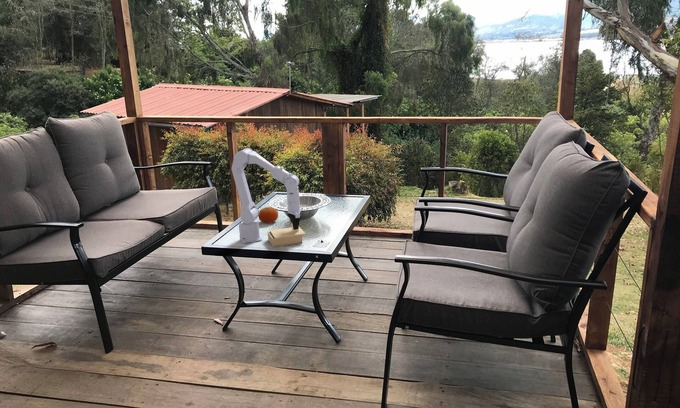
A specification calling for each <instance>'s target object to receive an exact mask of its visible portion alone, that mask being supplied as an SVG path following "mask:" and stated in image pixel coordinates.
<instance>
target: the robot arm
mask: <svg viewBox="0 0 680 408" xmlns="http://www.w3.org/2000/svg"><path fill="white" fill-rule="evenodd" d="M252 164H256V165H258V166H259V167H261V168H263V169H264V170H266V171H268V172H269V173H270V174H271V177H272V178H274V179H275V180H277V181H278V182H280V183H281V184H284V187H285V188H286V201H287V202H286V203H287V217H288V218H289V222H290V224H291V222H292V224H291V225H290V226H292V225H293V229H294V230H297V229H298V228H299V227H300V223H301V219H302V215H301V214H300V213H301V212H302V211H303V209H304V208H303V209H302V208H301V204H300V190H299V184H300V178H299V177H298V176H297V175H296V174H292V173H291V172H289V171H287V170H285V169H284V166H279V165H277V166H275V165H274V164H272V163H270V162H269V161H268V159H267V160H266V159H265V158H264V157H262V156H261V155H260V154H259V153H258V152H257V151H255V150H253V149H252V148H249V147H245V148H243V149H242V150H239V151H237V152H236V153H235V155H234V156H233V159H232V165H231V173H232V176H233V179H234V183H235V186H236V190H237V194H238V197H239V201H240V203H241V204H240V205H241V206H240V213H241V214H240V219H241V223H239V224H238V229H239V232H238V233H239V239H240V241H241V244H246V243H256V242H260V241H262V237H261V235H260V225H259V224H260V223H259V220H258V219H259V217H258V216H259V211H260V210H259V209H258V207H257V206H256V203H255V202H254V201H253V199H252V195H251V191H250V189H249V185H248V182H247V181H248V180H247V177H246V173H245V168H246V166H248V165H252Z"/></svg>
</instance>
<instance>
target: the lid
mask: <svg viewBox="0 0 680 408" xmlns="http://www.w3.org/2000/svg"><path fill="white" fill-rule="evenodd" d="M290 224H292V222H291V221H290ZM269 232H271V234H272V235H273V237H274V238H275V239H279V238H285V237H292V236H299V235H302V236H304V235H306V232H305V231H304V230H303V229H302V228H301V227H300V226H299V228H298V229H297V230H294V229H293V225H291V226H289V227H284V228H278V229H271V230H269Z"/></svg>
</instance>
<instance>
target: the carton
mask: <svg viewBox="0 0 680 408" xmlns="http://www.w3.org/2000/svg"><path fill="white" fill-rule="evenodd" d="M267 240H268V241H269V244H270V245H271V246H273V247H274V248H280V247H286V246H293V245H298V244H299V245H300V244H303V235H299V236H292V237H285V238H279V239H275V238H274V237H273V235H272V234H271V232H270V231H267ZM273 247H272V248H273Z"/></svg>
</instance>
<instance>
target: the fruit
mask: <svg viewBox="0 0 680 408" xmlns="http://www.w3.org/2000/svg"><path fill="white" fill-rule="evenodd" d="M272 207H273V206H267V207H263V208H261V209H260V210H259V216H258V217H257V218H258V219H259V220H258V221H260V222H262V223H264V224H270V223H273V222H275V221H277V220H278V218H279V211H278V209H276V208H275V209H276V210H275V209H273V208H274V207H273V208H272Z"/></svg>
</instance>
